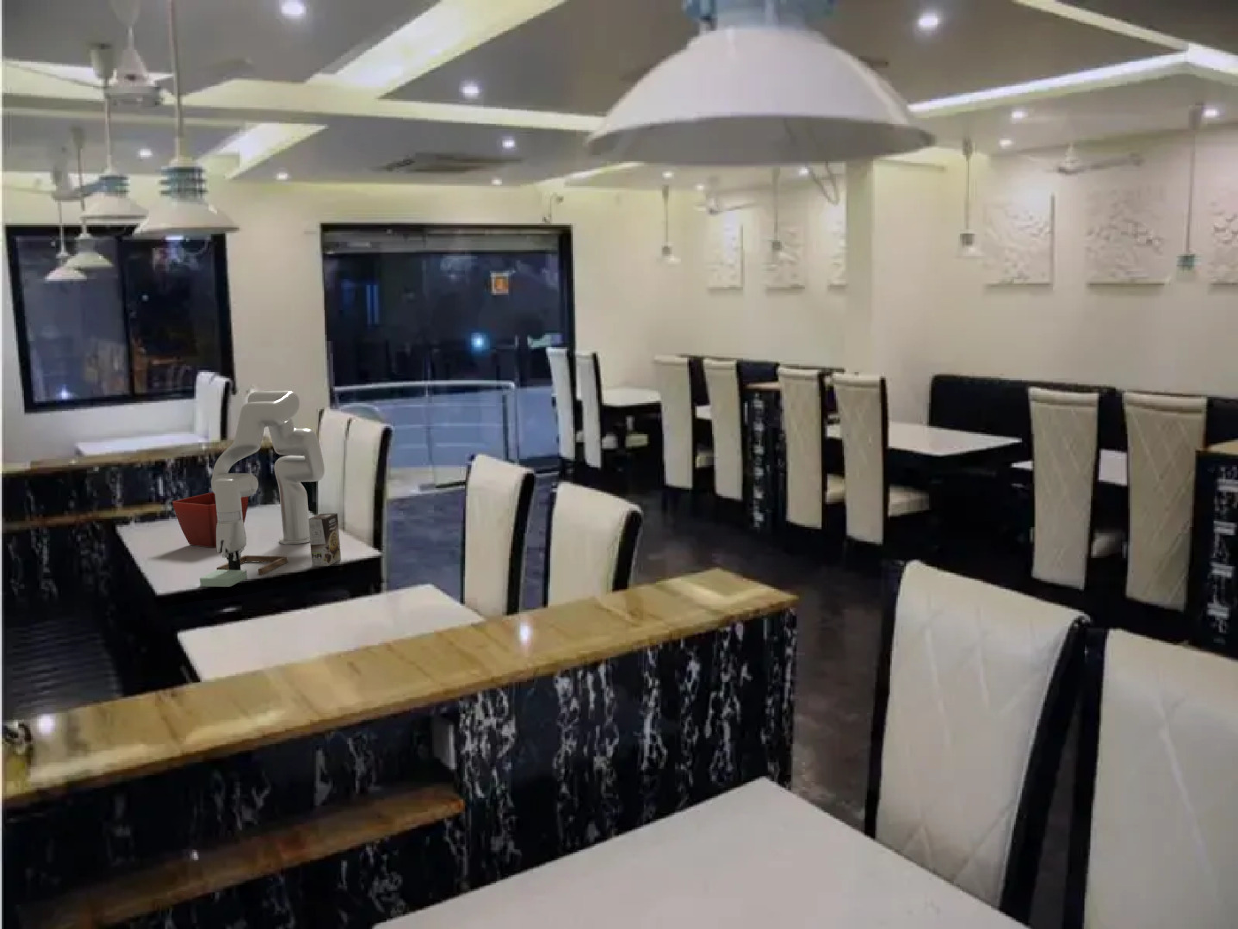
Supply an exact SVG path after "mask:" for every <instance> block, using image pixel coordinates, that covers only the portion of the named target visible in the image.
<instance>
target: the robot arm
mask: <svg viewBox="0 0 1238 929" xmlns="http://www.w3.org/2000/svg"><path fill="white" fill-rule="evenodd" d="M300 404H301V402H300V398H299V395H298V394H297V393H296V392H295V391H291V390H267V391H266V390H263V391H262V390H261V391H253V392H251V393H250V394H249V395H248V396H247V403H244V404H243V405H242V407H241V409H240V414H239V417H238V422H237V426H236V432H235V437H234V440H233V443H232V444H231V445H229V447H227V448H226V449H225V450H224V451H223V452H222V454H220V456H219V457H218V458H217V460H216V461H215V464H214V466H213V467H214V468H213V471H212V476H211V491H212V493H214V494H215V499H216V509H217V520H218V523H217V527H216V545H217V547H216V551H217V553H218V554H221V558H222V559H226V561H227V563H228V564H229V570H242V568H241V564H240V558H241V557H242V552H243V551H245V547H246V546H247V535H246V534H247V532H246V528H245V522H244V523H243V517H242V506H241V497H246V496H248V497H250V496H253V495H254V494H255V493H256V492H257V490H258V488H259V480H258V478H257V477H256V476H255V475H254V474H253V473H246V472H245V473H242V472H241V473H237V472H236V473H234V472H233V473H232V472H231V473H229V471H230V469H231V468H232V466H234V465H235V464H236V463H237V462H238V461H239V462H240V460H242V459H244V458H247V457H249V456H250V455H253V454H255V453H257V452H259V450H260V449H261V446H262V443H263V437H264V432H265V428H266V427H268V432H269V435H270V440H271V443H272V447H273V449H274V452H275V453H276V454H278V455H281V456H280V457H279V458H278V459H277V460H275V463H274V469H273V470H274V474H275V478H276V482H277V486H278V492H279V502H280V514H281V526H282V535H283V536H281V537H280V538H279V539H278V541H279V543H280V544H283V545H299V544H305V543H310V533H309V518H310V517H309V516H310V515H309V505H308V504H309V503H308V493H307V490H306V488H305V487H304V485H303V484H302V483H304V482H305V483H306V482H307V483H308V482H309V483H310V482H311V483H312V482H319V481H321V480H322V479H323V478H324V476H325V463H324V460H323V459H324V457H323V454H322V449H321V446H320V445H321V444H320V440H319V437H318V435H317V433H316V432H315V431H314V430H313V429H311V428H296V427H295V425H294V422H293V417H295V415H296V414H297V413H298V412H299V410H300V409H299V408H300Z"/></svg>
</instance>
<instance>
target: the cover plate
mask: <svg viewBox="0 0 1238 929" xmlns="http://www.w3.org/2000/svg"><path fill="white" fill-rule="evenodd" d="M247 573H248V572H247V569H241V570H217V569H216V570H214V571H212V572H210V573H208V574H206V575H204V576H202V577H200V578H199V583H200V587H218V588H219V587H224V588H226V587H228V588H229V587H232V586H234V585H236V584H238V583H240V582H243V581H244V580H246V579H247V578H248V574H247Z"/></svg>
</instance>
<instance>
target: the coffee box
mask: <svg viewBox="0 0 1238 929" xmlns="http://www.w3.org/2000/svg"><path fill="white" fill-rule="evenodd" d="M309 533H310V542H309V543H310V546H309V547H310V555H311V566H315V567H316V566H317V567H319V566H321V567H328V566H331V565H333V564H335V563H336V562H338V561H340V560H342V554H341V553H342V552H341V542H340V529H339V516H338V513H336V512H335V513H330V512H329V513H328V512H327V513H320V514H316V515H314V516H312V517H309Z"/></svg>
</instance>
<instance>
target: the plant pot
mask: <svg viewBox="0 0 1238 929" xmlns="http://www.w3.org/2000/svg"><path fill="white" fill-rule="evenodd" d="M248 504H249V496H246V497H241V506H242V517H243V523H244V524H245V521H246V518H247V510H248V506H249V505H248ZM172 506H173V509H174V510H173V511H174V513H175V516H176V519H177V522H178V524H179V526H180V529H181V531H182V532H183V535H184V537H185V539H186V541H187V542H188V544H189V545H190V546H198V547H206V548H217V545H216V527H217V523H218V520H217V509H216V499H215V494H214V492H208V493H204V494H200V495H196V496H195V495H194V496H190V497H186V498H182V499H178V500H174V501H173V500H172Z"/></svg>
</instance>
